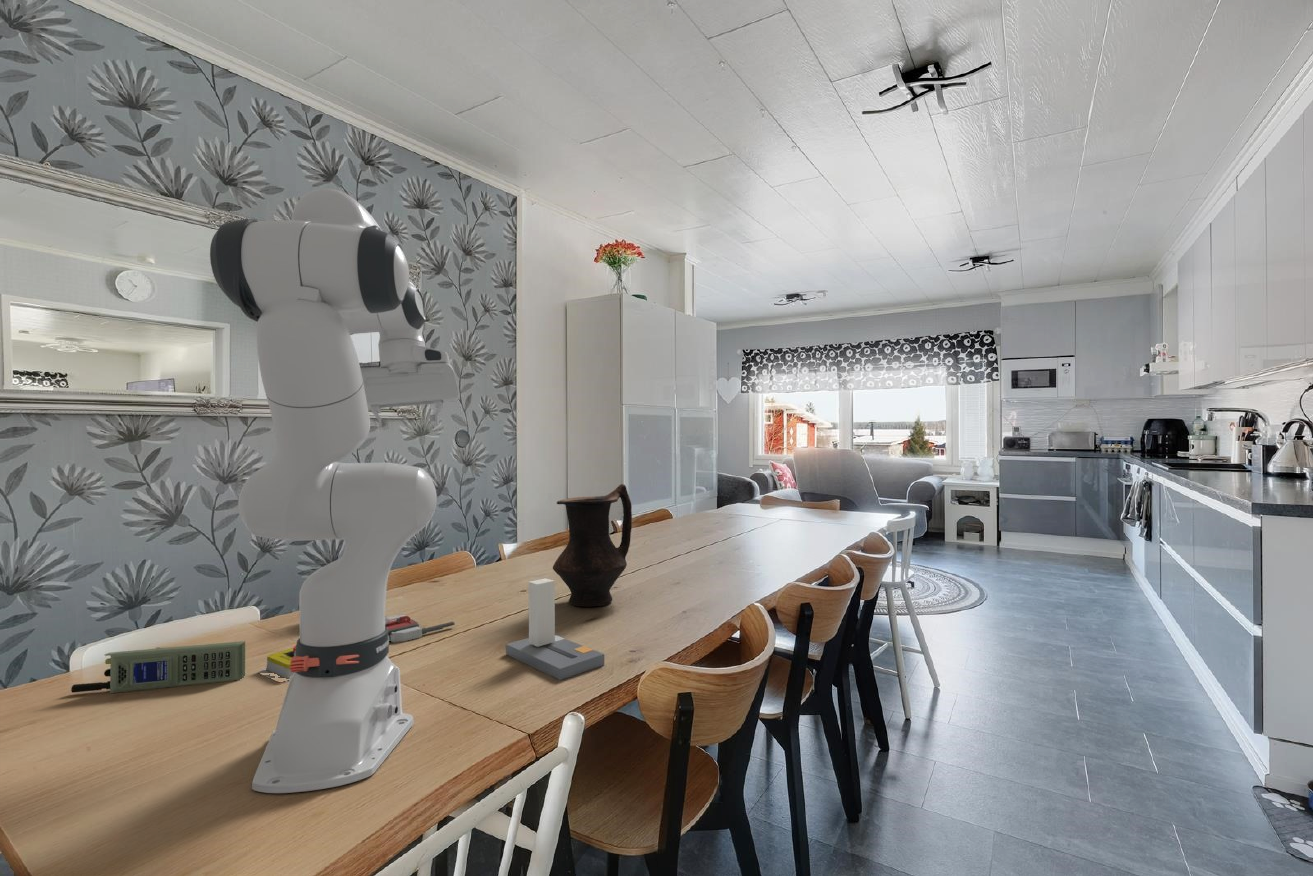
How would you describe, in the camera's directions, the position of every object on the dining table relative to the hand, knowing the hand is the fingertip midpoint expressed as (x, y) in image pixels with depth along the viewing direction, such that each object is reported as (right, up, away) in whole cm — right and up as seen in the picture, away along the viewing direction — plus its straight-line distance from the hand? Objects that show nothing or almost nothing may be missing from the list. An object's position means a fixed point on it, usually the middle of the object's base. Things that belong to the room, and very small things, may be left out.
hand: (409, 426), depth 121 cm
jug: (+33, -45, +35) cm, 66 cm away
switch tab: (+27, -42, -1) cm, 50 cm away
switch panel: (+29, -45, -4) cm, 53 cm away
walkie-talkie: (-6, -45, +11) cm, 47 cm away
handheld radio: (-37, -46, -15) cm, 61 cm away
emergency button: (-16, -46, -6) cm, 49 cm away
